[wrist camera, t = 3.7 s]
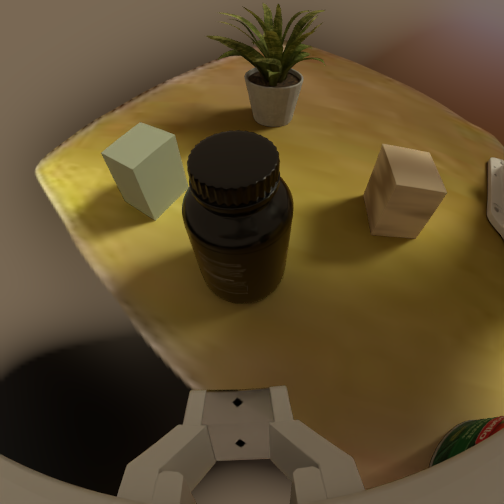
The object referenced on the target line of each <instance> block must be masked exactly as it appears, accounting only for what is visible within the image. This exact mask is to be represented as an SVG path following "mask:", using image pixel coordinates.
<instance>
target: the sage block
mask: <svg viewBox="0 0 504 504" xmlns="http://www.w3.org/2000/svg"><path fill="white" fill-rule="evenodd" d="M102 156H103V158H104V160H105V162H106V164H107V166H108V168H109V170H110V172H111V174H112V176H113V178H114V180H115V182H116V184H117V186H118V188H119V190H120V192H121V194H122V196H123V198H124V200H125V201H126V202H127V203H129V204H130V205H132V206H133V207H135V208H137V209H138V210H140V211H141V212H143V213H144V214H146V215H147V216H149V217H150V218H152V219H154V220H155V221H156V220H157V219H158V218H159V217H160V216H161V215H162V213H163V212H164V211H165V210H166V209H167V208H168V207H169V206H170V205H171V204H172V203H173V202H174V201H175V200H177V199H178V198H179V197H180V196H181V195H182V194H183V193H184V192H185V191H186V190H187V189H188V188H189V187H188V184H187V180H186V176H185V172H184V168H183V165H182V161H181V157H180V153H179V149H178V145H177V141H176V137H175V135H174V134H172V133H169V132H166V131H164V130H161V129H158V128H155V127H152V126H150V125H147V124H144V123H141V122H140V123H139V124H137V125H136V126H135V127H133V128H132V129H131V130H129V131H128V132H127V133H125V134H124V135H123V136H122V137H120V138H119V139H118V140H116V141H115V142H114V143H113V144H111V145H110V146H109V147H108V148H107V149H105V150H104V151H103V152H102Z"/></svg>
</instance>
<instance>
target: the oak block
mask: <svg viewBox="0 0 504 504" xmlns="http://www.w3.org/2000/svg"><path fill="white" fill-rule="evenodd" d="M446 194H447V192H446V189H445V187H444V184H443V182H442V180H441V177H440V175H439V173H438V170H437V168H436V166H435V164H434V162H433V160H432V157H431V155H430V153H428V152H423V151H418V150H413V149H408V148H403V147H398V146H392V145H386V144H382V147H381V150H380V153H379V155H378V158H377V161H376V164H375V166H374V169H373V172H372V174H371V177H370V179H369V182H368V185H367V187H366V190H365V192H364V200H365V205H366V210H367V216H368V221H369V227H370V232H371V235H378V236H390V237H403V238H415V239H416V237H417V236H418V234H419V233H420V232H421V230H422V229H423V228H424V226H425V225H426V223H427V222H428V220H429V219H430V218H431V216H432V215H433V213H434V212H435V210H436V209H437V207H438V206H439V204H440V203H441V201H442V200H443V198H444V197H445V195H446Z"/></svg>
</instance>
